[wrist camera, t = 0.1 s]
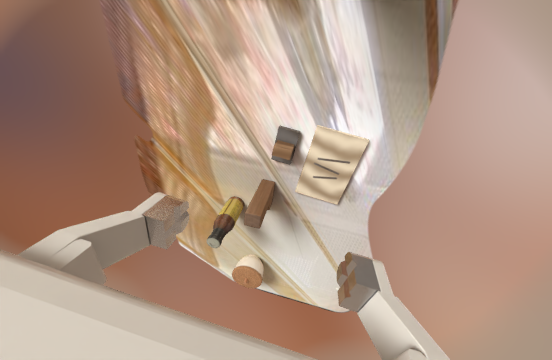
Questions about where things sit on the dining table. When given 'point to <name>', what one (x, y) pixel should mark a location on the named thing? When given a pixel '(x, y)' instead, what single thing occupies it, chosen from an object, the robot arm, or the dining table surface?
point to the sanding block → (285, 144)
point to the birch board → (330, 164)
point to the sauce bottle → (225, 221)
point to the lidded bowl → (249, 271)
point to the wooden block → (259, 204)
